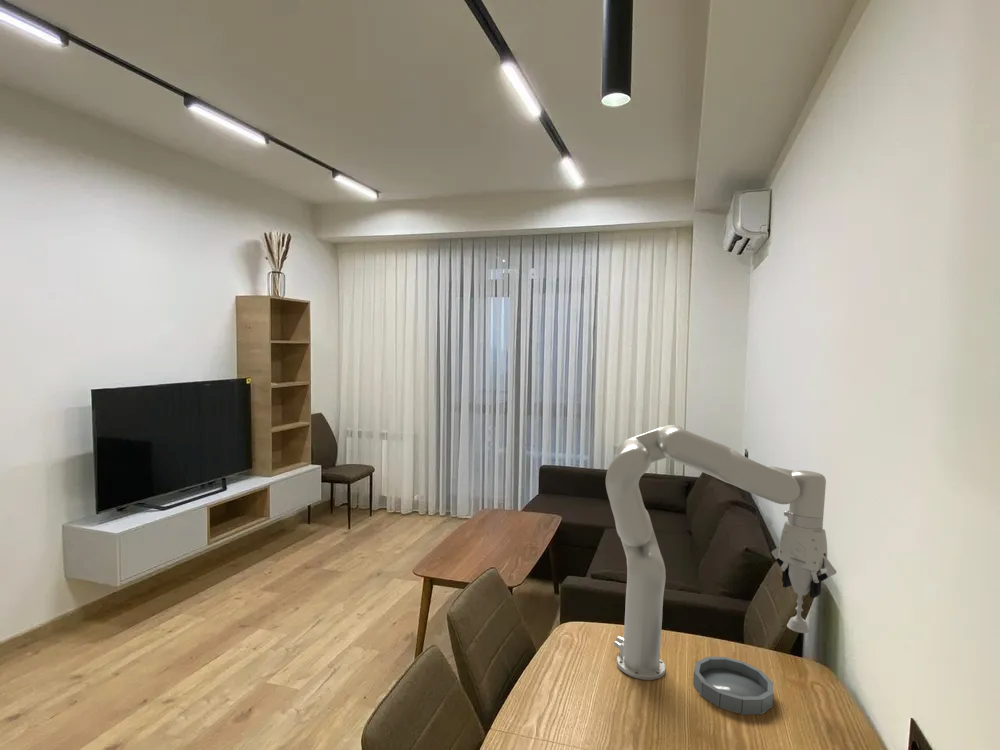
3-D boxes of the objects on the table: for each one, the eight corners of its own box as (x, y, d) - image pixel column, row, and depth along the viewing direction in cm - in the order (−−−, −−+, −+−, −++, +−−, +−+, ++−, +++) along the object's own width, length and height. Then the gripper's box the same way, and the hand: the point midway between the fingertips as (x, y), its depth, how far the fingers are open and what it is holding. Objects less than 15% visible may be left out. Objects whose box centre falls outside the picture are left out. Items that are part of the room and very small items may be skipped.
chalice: (817, 637, 133) (823, 564, 132) (787, 633, 134) (793, 561, 134) (807, 623, 140) (812, 554, 140) (778, 619, 142) (783, 551, 141)
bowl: (679, 682, 138) (679, 669, 138) (721, 662, 148) (721, 650, 148) (745, 724, 123) (746, 709, 123) (786, 698, 134) (787, 684, 134)
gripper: (764, 513, 141) (759, 581, 142) (835, 533, 127) (829, 608, 128) (779, 510, 146) (774, 576, 146) (850, 528, 131) (844, 602, 132)
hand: (800, 590), depth 137 cm, fingers closed on chalice, 6 cm apart
